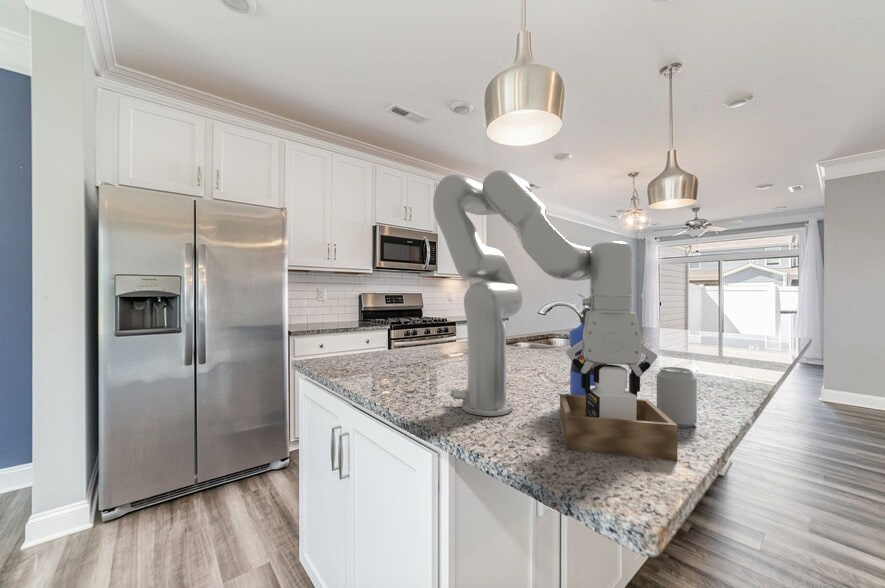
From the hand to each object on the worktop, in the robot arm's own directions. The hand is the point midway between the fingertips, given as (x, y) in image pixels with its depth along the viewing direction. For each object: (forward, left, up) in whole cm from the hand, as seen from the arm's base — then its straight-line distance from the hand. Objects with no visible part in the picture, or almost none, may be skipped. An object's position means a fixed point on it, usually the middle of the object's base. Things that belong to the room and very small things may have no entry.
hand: (609, 393), depth 73 cm
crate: (0, 0, -9) cm, 9 cm away
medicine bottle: (0, 0, -7) cm, 7 cm away
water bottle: (-1, +21, -9) cm, 23 cm away
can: (+16, +13, -9) cm, 23 cm away
